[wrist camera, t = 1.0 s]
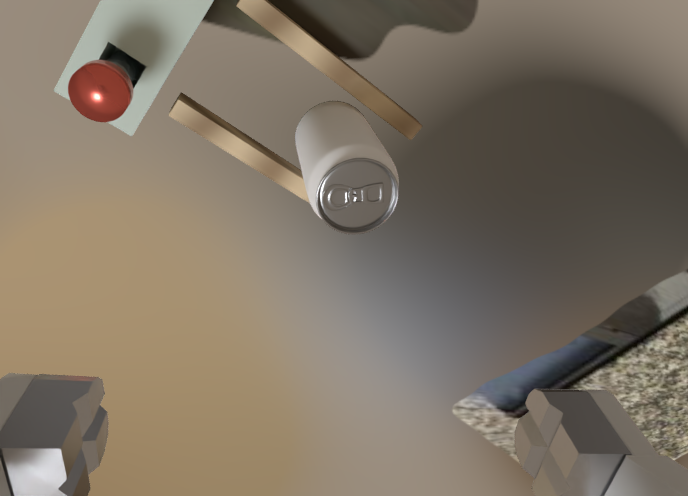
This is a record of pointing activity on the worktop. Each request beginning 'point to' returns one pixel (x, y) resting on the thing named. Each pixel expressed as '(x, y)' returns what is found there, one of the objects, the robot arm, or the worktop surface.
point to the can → (345, 168)
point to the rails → (318, 55)
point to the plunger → (104, 87)
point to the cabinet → (137, 45)
